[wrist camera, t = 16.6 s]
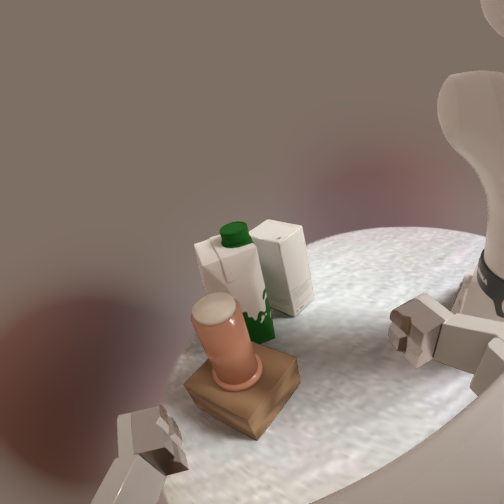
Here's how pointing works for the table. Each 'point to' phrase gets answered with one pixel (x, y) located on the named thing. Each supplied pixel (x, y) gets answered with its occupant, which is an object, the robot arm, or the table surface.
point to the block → (248, 393)
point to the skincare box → (284, 265)
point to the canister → (226, 342)
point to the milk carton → (237, 276)
